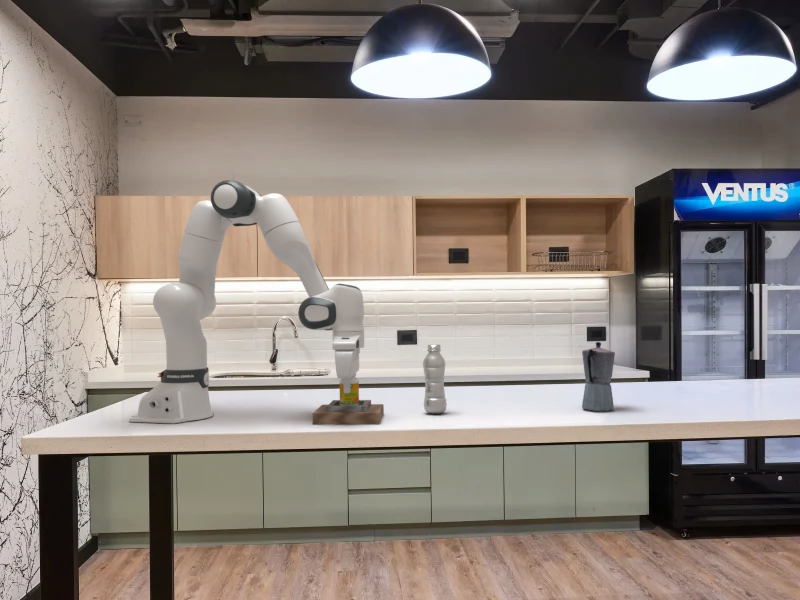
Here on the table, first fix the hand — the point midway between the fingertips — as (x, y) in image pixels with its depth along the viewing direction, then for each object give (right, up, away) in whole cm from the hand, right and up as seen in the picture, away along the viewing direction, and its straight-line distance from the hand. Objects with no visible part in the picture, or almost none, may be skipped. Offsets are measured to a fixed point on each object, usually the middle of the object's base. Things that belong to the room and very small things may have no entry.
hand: (349, 391), depth 158 cm
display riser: (0, -8, 0) cm, 8 cm away
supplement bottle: (0, -4, 0) cm, 4 cm away
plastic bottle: (+24, -8, +7) cm, 27 cm away
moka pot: (+73, -7, +8) cm, 74 cm away
